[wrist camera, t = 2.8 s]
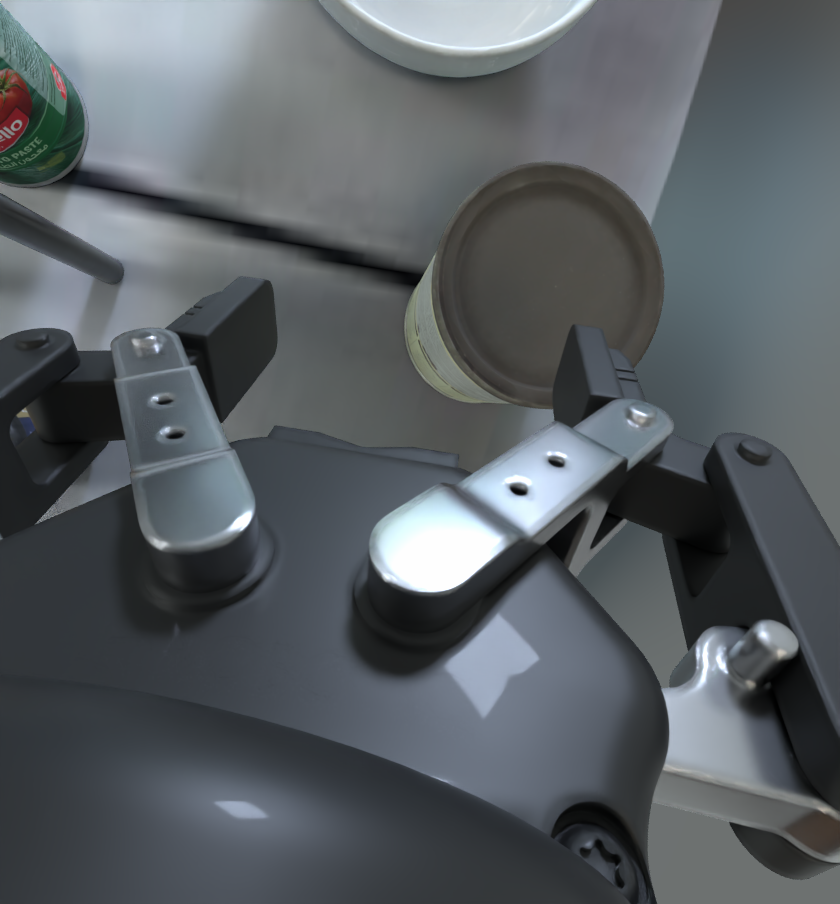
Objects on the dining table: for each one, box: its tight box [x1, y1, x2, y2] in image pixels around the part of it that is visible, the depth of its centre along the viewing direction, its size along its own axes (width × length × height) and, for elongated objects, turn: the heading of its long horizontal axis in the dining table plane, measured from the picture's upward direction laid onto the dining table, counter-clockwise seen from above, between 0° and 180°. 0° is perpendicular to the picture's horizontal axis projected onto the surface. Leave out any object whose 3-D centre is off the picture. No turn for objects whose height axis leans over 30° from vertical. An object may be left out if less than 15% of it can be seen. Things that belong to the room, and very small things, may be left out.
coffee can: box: [404, 161, 664, 409], centre depth 29 cm, size 10×10×14 cm
